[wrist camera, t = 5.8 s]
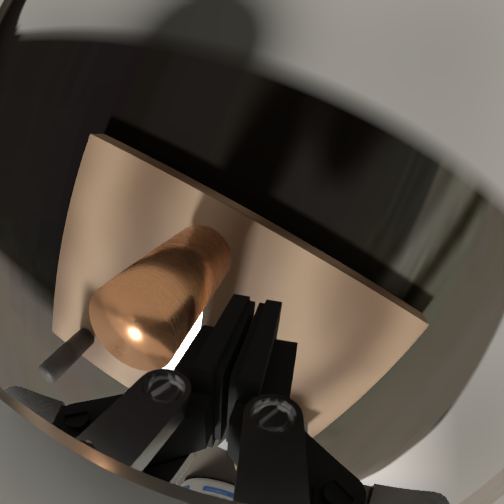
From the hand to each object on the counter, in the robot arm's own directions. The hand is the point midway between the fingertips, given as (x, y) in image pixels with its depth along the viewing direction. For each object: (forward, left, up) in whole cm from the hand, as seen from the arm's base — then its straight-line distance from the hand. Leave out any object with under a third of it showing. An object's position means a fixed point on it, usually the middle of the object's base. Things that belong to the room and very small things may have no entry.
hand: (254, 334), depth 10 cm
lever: (-2, -8, -5) cm, 9 cm away
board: (-2, -7, -8) cm, 11 cm away
